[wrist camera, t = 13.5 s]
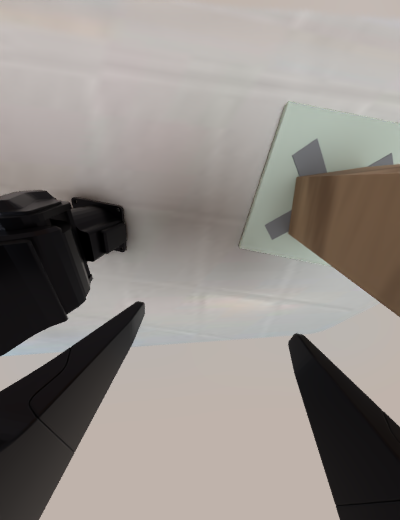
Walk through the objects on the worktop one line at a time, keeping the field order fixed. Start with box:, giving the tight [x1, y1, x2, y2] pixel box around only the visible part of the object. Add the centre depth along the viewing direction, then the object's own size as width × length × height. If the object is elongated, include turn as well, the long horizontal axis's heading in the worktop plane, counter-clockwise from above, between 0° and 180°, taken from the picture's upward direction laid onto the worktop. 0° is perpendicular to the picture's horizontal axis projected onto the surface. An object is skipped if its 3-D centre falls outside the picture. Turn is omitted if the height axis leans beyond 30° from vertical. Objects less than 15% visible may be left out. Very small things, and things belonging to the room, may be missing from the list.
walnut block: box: [288, 164, 400, 317], centre depth 10 cm, size 6×6×13 cm
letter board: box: [239, 101, 400, 267], centre depth 16 cm, size 14×14×1 cm
